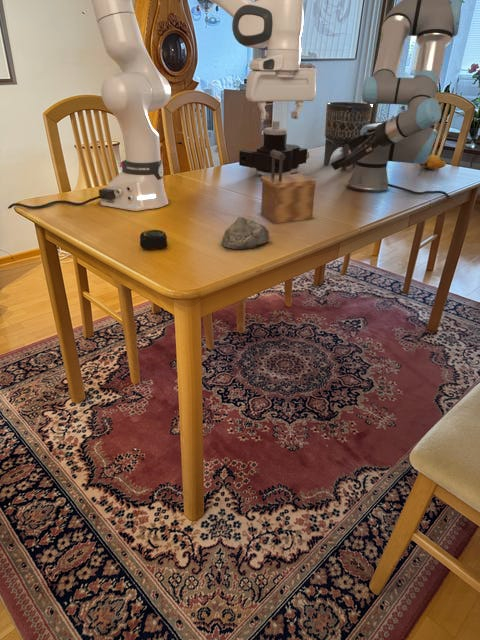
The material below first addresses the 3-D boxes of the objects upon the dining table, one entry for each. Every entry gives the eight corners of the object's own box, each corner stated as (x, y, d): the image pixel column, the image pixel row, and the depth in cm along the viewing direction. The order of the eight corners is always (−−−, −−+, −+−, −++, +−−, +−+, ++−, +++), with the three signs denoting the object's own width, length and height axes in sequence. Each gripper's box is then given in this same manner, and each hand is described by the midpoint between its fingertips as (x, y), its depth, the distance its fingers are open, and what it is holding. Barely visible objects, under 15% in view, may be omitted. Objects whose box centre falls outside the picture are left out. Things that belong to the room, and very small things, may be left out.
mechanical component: (240, 120, 182) (283, 115, 202) (239, 174, 192) (280, 164, 212) (283, 126, 170) (325, 120, 190) (280, 183, 180) (320, 171, 200)
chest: (274, 223, 138) (276, 188, 132) (261, 214, 145) (262, 180, 140) (312, 218, 142) (315, 184, 137) (297, 210, 150) (299, 177, 144)
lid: (274, 188, 132) (275, 155, 127) (260, 180, 139) (261, 149, 135) (315, 184, 137) (318, 152, 132) (299, 177, 144) (302, 146, 140)
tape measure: (140, 252, 115) (139, 238, 113) (141, 242, 120) (140, 229, 119) (167, 251, 116) (166, 237, 114) (167, 241, 121) (166, 228, 120)
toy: (420, 162, 205) (414, 155, 217) (422, 176, 207) (416, 168, 220) (446, 154, 201) (438, 147, 214) (448, 168, 204) (440, 161, 217)
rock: (255, 233, 128) (256, 211, 124) (276, 242, 122) (278, 219, 119) (217, 244, 120) (217, 220, 117) (239, 254, 115) (239, 230, 111)
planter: (313, 167, 208) (319, 103, 195) (331, 160, 222) (338, 101, 209) (353, 173, 199) (362, 107, 185) (369, 166, 213) (379, 104, 199)
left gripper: (310, 63, 127) (306, 116, 134) (244, 61, 120) (242, 118, 127) (322, 63, 122) (317, 119, 129) (253, 62, 115) (252, 121, 122)
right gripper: (400, 101, 150) (350, 128, 167) (369, 142, 139) (319, 167, 156) (411, 120, 152) (361, 145, 170) (382, 162, 141) (331, 184, 159)
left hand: (279, 119), depth 128 cm, fingers open, 8 cm apart
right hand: (341, 155), depth 163 cm, fingers open, 13 cm apart
